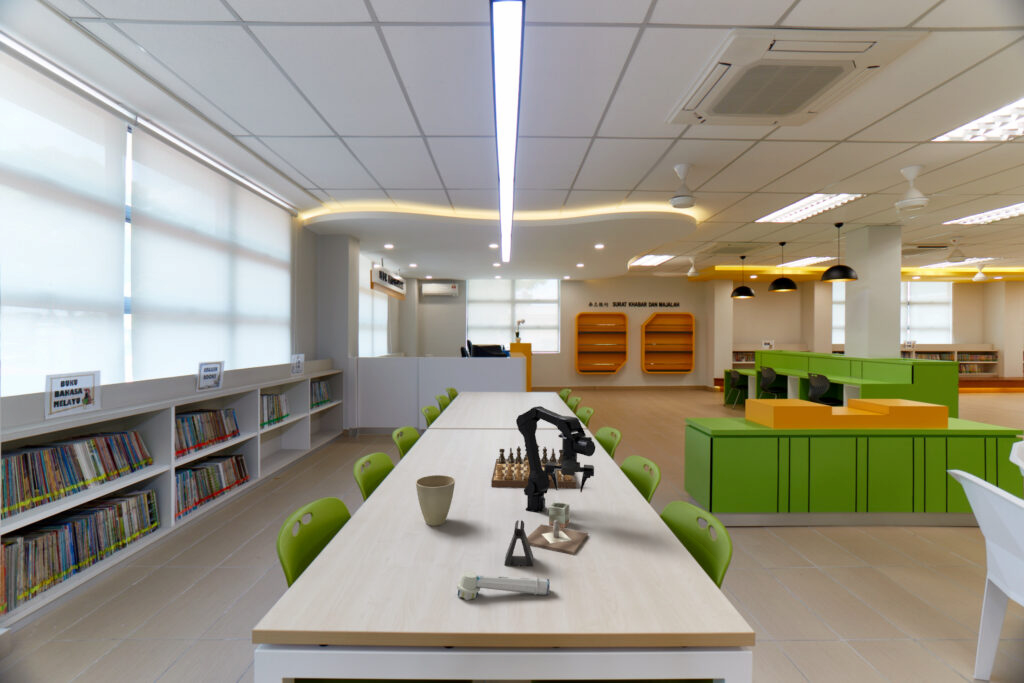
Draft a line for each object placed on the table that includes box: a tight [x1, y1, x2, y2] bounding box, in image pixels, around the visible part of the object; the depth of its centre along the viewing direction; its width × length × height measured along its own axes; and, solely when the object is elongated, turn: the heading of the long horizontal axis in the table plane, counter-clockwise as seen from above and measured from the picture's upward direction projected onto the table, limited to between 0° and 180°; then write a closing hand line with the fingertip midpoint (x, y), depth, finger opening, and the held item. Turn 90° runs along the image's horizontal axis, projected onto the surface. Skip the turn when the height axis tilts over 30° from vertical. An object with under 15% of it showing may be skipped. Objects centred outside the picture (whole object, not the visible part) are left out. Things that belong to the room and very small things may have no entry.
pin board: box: [527, 520, 589, 556], centre depth 162 cm, size 18×16×7 cm
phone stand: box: [504, 519, 535, 567], centre depth 146 cm, size 9×6×12 cm, turn 86°
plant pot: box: [415, 474, 456, 527], centre depth 177 cm, size 15×15×16 cm
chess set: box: [490, 443, 577, 489], centre depth 239 cm, size 40×40×15 cm
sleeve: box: [548, 501, 570, 529], centre depth 176 cm, size 6×6×7 cm
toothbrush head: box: [456, 571, 550, 601], centre depth 127 cm, size 5×7×25 cm
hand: (568, 491), depth 177 cm, fingers open, 9 cm apart
